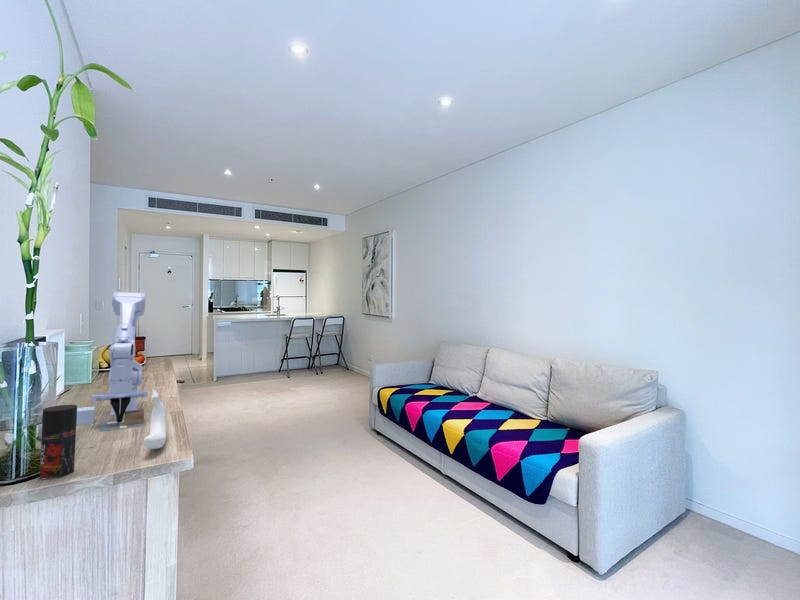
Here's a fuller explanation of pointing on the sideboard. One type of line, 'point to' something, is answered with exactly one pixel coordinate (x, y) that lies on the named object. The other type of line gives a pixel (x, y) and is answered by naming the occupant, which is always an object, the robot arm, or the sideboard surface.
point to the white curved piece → (156, 425)
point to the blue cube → (85, 415)
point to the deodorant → (58, 441)
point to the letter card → (116, 425)
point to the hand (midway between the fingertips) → (119, 421)
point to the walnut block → (134, 417)
